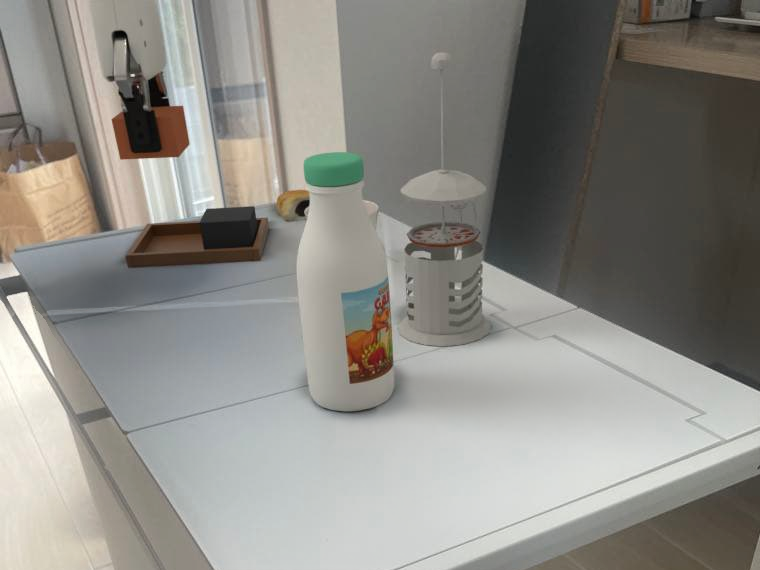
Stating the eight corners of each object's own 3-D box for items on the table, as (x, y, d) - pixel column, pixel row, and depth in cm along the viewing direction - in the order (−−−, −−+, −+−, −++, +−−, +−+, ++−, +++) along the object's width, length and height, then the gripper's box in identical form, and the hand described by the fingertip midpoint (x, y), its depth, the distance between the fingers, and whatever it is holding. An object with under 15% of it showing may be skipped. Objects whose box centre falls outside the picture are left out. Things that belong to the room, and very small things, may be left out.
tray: (129, 272, 105) (125, 255, 104) (150, 239, 116) (146, 223, 115) (260, 265, 106) (258, 248, 104) (269, 232, 117) (267, 217, 115)
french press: (381, 338, 86) (365, 59, 71) (427, 299, 94) (421, 41, 79) (471, 352, 82) (474, 61, 67) (510, 310, 91) (520, 43, 76)
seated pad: (204, 254, 108) (198, 222, 106) (211, 239, 113) (206, 208, 111) (254, 251, 108) (249, 219, 106) (258, 236, 113) (254, 205, 111)
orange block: (120, 159, 91) (111, 118, 88) (134, 146, 96) (125, 108, 93) (179, 157, 91) (171, 116, 88) (189, 144, 96) (183, 105, 93)
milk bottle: (319, 420, 72) (291, 173, 60) (302, 382, 78) (274, 152, 66) (405, 405, 74) (394, 162, 62) (382, 370, 80) (368, 142, 68)
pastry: (268, 210, 126) (265, 183, 123) (311, 204, 128) (309, 178, 125) (286, 226, 119) (283, 198, 116) (331, 220, 121) (329, 192, 118)
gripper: (100, -54, 89) (138, 130, 100) (49, -49, 75) (99, 164, 86) (171, -57, 89) (201, 127, 100) (132, -53, 75) (172, 161, 86)
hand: (153, 143), depth 93 cm, fingers closed on orange block, 6 cm apart
